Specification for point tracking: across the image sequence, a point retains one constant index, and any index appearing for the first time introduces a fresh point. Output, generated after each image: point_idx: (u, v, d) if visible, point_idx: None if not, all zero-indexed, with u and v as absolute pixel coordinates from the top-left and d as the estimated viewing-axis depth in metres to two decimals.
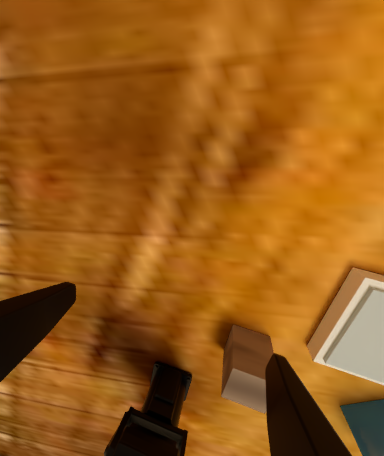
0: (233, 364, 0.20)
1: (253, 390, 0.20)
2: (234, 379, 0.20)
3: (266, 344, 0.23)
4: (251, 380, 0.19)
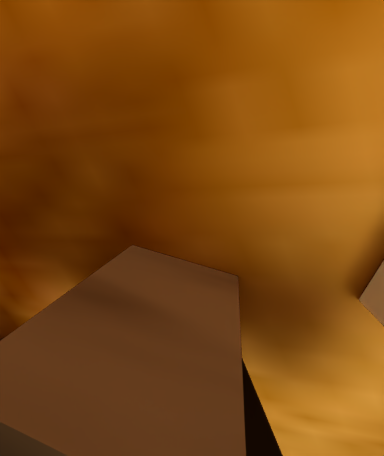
0: None
1: None
2: None
3: (219, 293, 0.06)
4: None
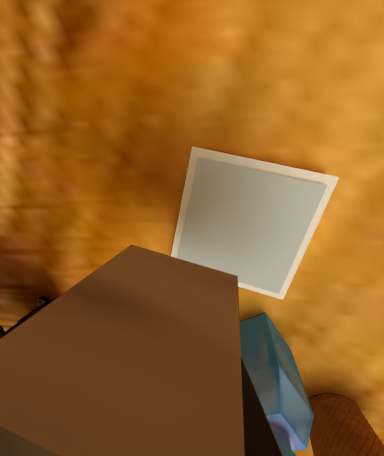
0: None
1: None
2: None
3: (218, 293, 0.06)
4: None
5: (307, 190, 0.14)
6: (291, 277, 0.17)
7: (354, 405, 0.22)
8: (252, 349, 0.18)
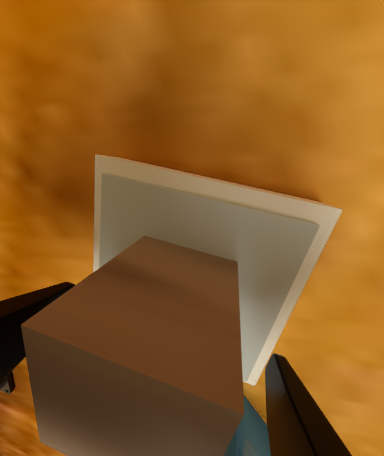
0: (42, 313, 0.04)
1: (128, 428, 0.04)
2: (48, 379, 0.04)
3: (221, 274, 0.08)
4: (107, 383, 0.04)
5: (284, 232, 0.08)
6: (265, 358, 0.11)
7: None
8: None
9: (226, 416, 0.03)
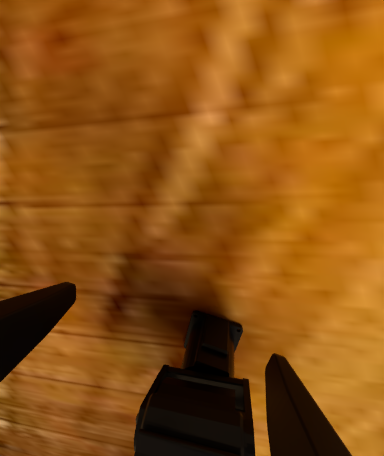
0: None
1: None
2: None
3: None
4: None
5: None
6: None
7: None
8: None
9: None
